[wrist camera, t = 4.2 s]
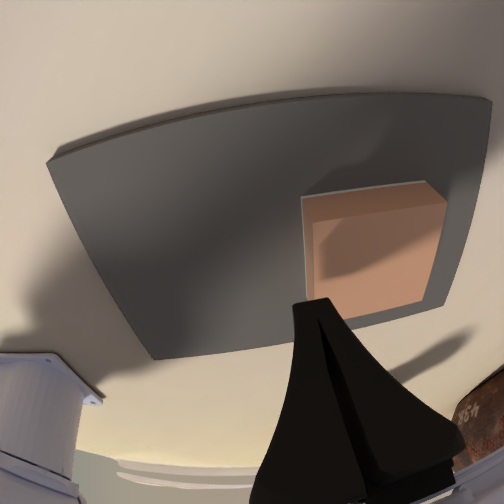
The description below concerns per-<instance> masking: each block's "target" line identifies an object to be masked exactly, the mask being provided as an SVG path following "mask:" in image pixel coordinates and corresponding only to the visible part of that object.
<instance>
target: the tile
mask: <svg viewBox="0 0 504 504" xmlns="http://www.w3.org/2000/svg"><path fill="white" fill-rule="evenodd" d="M447 203H448V202H447V201H446V200H445V199H444V198H443V197H442V196H441V195H440V194H439V193H438V192H437V191H436V190H435V189H433V188H432V187H431V186H430V185H429V184H428V183H427V182H426V181H425V180H422V181H413V182H404V183H396V184H387V185H379V186H371V187H364V188H356V189H349V190H341V191H334V192H327V193H321V194H314V195H307V196H301V208H302V223H303V238H304V256H305V275H306V297H307V300H308V301H310V300H315V299H320V298H325V297H328V298H329V299H330V300H331V302H332V303H333V305H334V306H335V308H336V310H337V311H338V313H339V314H340V316H341V317H342V318H343V319H348V318H353V317H357V316H362V315H366V314H370V313H375V312H379V311H383V310H387V309H391V308H395V307H399V306H403V305H407V304H411V303H414V302H418V301H422V299H423V296H424V292H425V289H426V286H427V283H428V280H429V276H430V273H431V269H432V266H433V262H434V259H435V255H436V251H437V247H438V243H439V239H440V235H441V231H442V227H443V222H444V218H445V213H446V208H447Z"/></svg>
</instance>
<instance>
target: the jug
mask: <svg viewBox="0 0 504 504" xmlns="http://www.w3.org/2000/svg"><path fill="white" fill-rule="evenodd" d="M451 421H452V422H453V423H455V424H456V425H457V426H458V428H459V430H460V431H461V433H462V435H463V437H464V440H465V443H466V448H465V450H463V451H462V452H460V453H459V454H457V455H456V456H454V457H453V458H452V459H453V462H454V466H453V467H452V470H453V471H454V472H458V471H460V470H462V469H464V468H466V467H468V466H469V465H471V464H473V463H475V462H477V461H479V460H481V459H482V458H484V457H486V456H488V455H490V454H491V453H493V452H495V451H496V450H498V449H500V448H501V447H503V446H504V370H503V371H501V372H500V373H498V374H497V375H495V376H494V377H492V378H491V379H490V380H488V381H486V382H485V383H484V384H482V385H481V386H479V387H478V388H477V389H475V390H474V391H473V392H471V393H470V394H469V395H468V396H467V397H465V398H464V399H463V400H462V401H461V402H460V403H459V404H458V405H457V407H456V410H455V412H454V415H453V418H452V420H451Z"/></svg>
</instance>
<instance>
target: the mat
mask: <svg viewBox="0 0 504 504" xmlns="http://www.w3.org/2000/svg"><path fill="white" fill-rule="evenodd" d="M491 110H492V101H490V100H488V99H486V98H480V97H471V96H460V95H447V94H429V93H355V94H337V95H323V96H311V97H301V98H291V99H283V100H275V101H267V102H260V103H254V104H247V105H241V106H235V107H230V108H224V109H219V110H214V111H209V112H204V113H199V114H194V115H190V116H185V117H181V118H177V119H172V120H168V121H164V122H160V123H157V124H153V125H149V126H145V127H142V128H138V129H135V130H131V131H128V132H124V133H121V134H118V135H114V136H111V137H108V138H105V139H102V140H99V141H96V142H93V143H90V144H87V145H84V146H81V147H79V148H76V149H73V150H70V151H68V152H65V153H62V154H60V155H57V156H55V157H52V158H51V159H50V160H49V161H48V162H46V165H47V167H48V170H49V172H50V175H51V177H52V180H53V182H54V184H55V187H56V189H57V191H58V193H59V196H60V198H61V200H62V202H63V204H64V207H65V209H66V211H67V213H68V215H69V217H70V219H71V221H72V223H73V226H74V228H75V230H76V232H77V234H78V236H79V238H80V240H81V241H82V243H83V245H84V247H85V249H86V251H87V253H88V255H89V257H90V259H91V260H92V262H93V264H94V266H95V268H96V269H97V271H98V273H99V275H100V277H101V278H102V280H103V282H104V284H105V285H106V287H107V289H108V290H109V292H110V294H111V295H112V297H113V299H114V300H115V302H116V304H117V305H118V307H119V309H120V310H121V312H122V313H123V315H124V317H125V318H126V320H127V321H128V323H129V324H130V326H131V327H132V329H133V331H134V332H135V334H136V335H137V337H138V338H139V340H140V341H141V343H142V344H143V345H144V347H145V348H146V350H147V351H148V353H149V354H150V356H151V357H152V358H153V360H163V359H174V358H184V357H193V356H202V355H211V354H219V353H226V352H233V351H241V350H247V349H254V348H260V347H267V346H273V345H279V344H284V343H290V342H294V324H293V312H292V305H294V304H295V303H299V302H304V301H308V300H307V297H306V275H305V256H304V238H303V223H302V208H301V196H307V195H314V194H321V193H327V192H334V191H341V190H349V189H356V188H364V187H371V186H379V185H387V184H396V183H404V182H413V181H422V180H425V181H426V182H427V183H428V184H429V185H430V186H431V187H432V188H433V189H435V190H436V191H437V192H438V193H439V194H440V195H441V196H442V197H443V198H444V199H445V200H446V201H447V202H448V203H447V208H446V213H445V218H444V222H443V227H442V231H441V235H440V239H439V243H438V247H437V251H436V255H435V259H434V262H433V266H432V269H431V273H430V276H429V280H428V283H427V286H426V289H425V292H424V296H423V299H422V301H418V302H414V303H411V304H407V305H403V306H399V307H395V308H391V309H387V310H383V311H379V312H375V313H370V314H366V315H362V316H357V317H353V318H348V319H343V320H344V321H345V323H346V324H347V325H348V327H349V328H350V329H351V330H354V329H358V328H363V327H367V326H371V325H375V324H379V323H383V322H387V321H391V320H395V319H399V318H402V317H406V316H410V315H414V314H417V313H421V312H424V311H428V310H431V309H435V308H438V307H441V306H444V303H445V301H446V298H447V295H448V293H449V290H450V288H451V285H452V282H453V279H454V277H455V274H456V271H457V268H458V265H459V262H460V259H461V256H462V253H463V250H464V246H465V243H466V240H467V236H468V233H469V229H470V226H471V222H472V218H473V214H474V210H475V206H476V202H477V198H478V193H479V189H480V184H481V179H482V174H483V169H484V163H485V157H486V151H487V144H488V137H489V129H490V121H491Z"/></svg>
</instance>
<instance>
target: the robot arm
mask: <svg viewBox="0 0 504 504" xmlns="http://www.w3.org/2000/svg"><path fill="white" fill-rule="evenodd" d="M292 312H293V324H294V349H293V359H292V365H291V372H290V378H289V383H288V387H287V392H286V396H285V400H284V404H283V407H282V411H281V414H280V417H279V421H278V424H277V427H276V429H275V432H274V435H273V437H272V440H271V443H270V445H269V448H268V450H267V453H266V455H265V457H264V460H263V462H262V464H261V466H260V468H259V470H258V473H257V475H256V478H255V482H254V485H253V488H252V491H251V495H250V499H249V504H364V503H365V504H420V503H422V502H425V501H427V500H429V499H432V498H434V497H436V496H439V495H441V494H442V493H445V492H447V491H449V490H451V489H453V492H452V494H451V495H449V496H446V497H444V498H441V499H439V500H436V501H434V502H432V503H430V504H504V446H503V447H501V448H500V449H498V450H496V451H495V452H493V453H491V454H490V455H488V456H486V457H484V458H482V459H481V460H479V461H477V462H475V463H473V464H471V465H469V466H468V467H466V468H464V469H462V470H460V471H458V472H455V473H453V471H452V467H453V466H454V462H453V459H452V458H453V457H454V456H456V455H457V454H459V453H460V452H462V451H463V450H465V448H466V443H465V440H464V437H463V435H462V433H461V431H460V430H459V428H458V426H457V425H456V424H455V423H453V422H452V421H450V420H448V419H447V418H445V417H444V416H442V415H440V414H439V413H437V412H436V411H434V410H433V409H432V408H430V407H429V406H427V405H426V404H425V403H423V402H422V401H421V400H420V399H418V398H417V397H416V396H415V395H413V394H412V393H411V392H410V391H408V390H407V389H406V388H405V387H403V386H402V385H401V384H400V383H399V382H398V381H397V380H396V379H395V378H394V377H393V376H391V375H390V374H389V373H388V372H387V371H386V370H385V369H384V368H383V367H382V366H381V365H380V364H379V362H378V361H377V360H376V359H375V358H374V357H373V356H372V355H371V354H370V353H369V351H368V350H367V349H366V348H365V347H364V346H363V344H362V343H361V342H360V341H359V339H358V338H357V337H356V336H355V334H354V333H353V332H352V331H351V329H350V328H349V327H348V325H347V324H346V323H345V321H344V320H343V318H342V317H341V316H340V314H339V313H338V311H337V310H336V308H335V306H334V305H333V303H332V302H331V300H330V299H329V298H328V297H325V298H320V299H315V300H310V301H304V302H299V303H295V304H294V305H292ZM83 404H85V405H102V404H103V400H102V399H101V398H100V397H99V396H98V395H97V394H96V393H95V392H94V391H92V390H91V389H90V388H89V387H88V386H87V385H86V384H85V383H84V382H83V381H82V380H81V379H80V378H79V377H78V376H77V375H76V374H75V373H74V372H73V371H72V370H71V369H70V368H69V367H68V366H67V365H66V364H65V363H64V362H63V361H62V360H61V359H60V358H59V356H57V355H56V354H53V353H38V354H5V353H0V504H87V502H86V500H85V498H84V497H83V495H82V494H81V493H80V492H79V484H76V483H73V482H71V478H72V470H73V461H74V453H75V447H76V440H77V433H78V427H79V421H80V416H81V410H82V405H83Z"/></svg>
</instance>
